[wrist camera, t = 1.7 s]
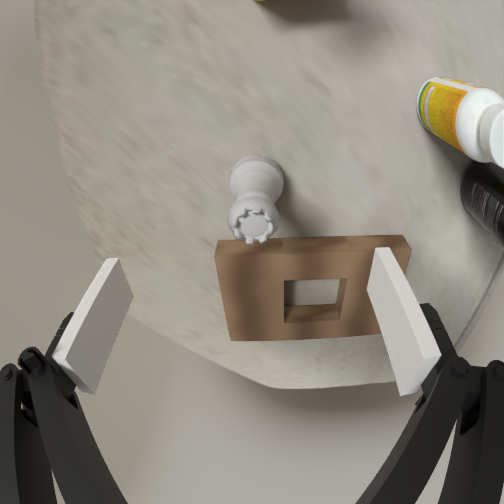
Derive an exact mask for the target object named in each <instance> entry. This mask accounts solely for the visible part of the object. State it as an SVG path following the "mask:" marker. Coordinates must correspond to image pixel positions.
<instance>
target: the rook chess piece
mask: <svg viewBox="0 0 504 504" xmlns="http://www.w3.org/2000/svg"><path fill="white" fill-rule="evenodd" d="M283 183H284V178H283V173H282V170H281V169H280V167H279V166H278V164H277V163H276V162H275V161H273V160H271V159H270V158H268V157H266V156H261V155H252V156H246V157H244V158H243V159H241V160H239V161H238V162H236V164H235V165H234V167H233V168H232V170H231V172H230V179H229V187H230V191H231V194H232V196H233V197H234V199H235V201H234V204H233V206H232V207H231V208H230V210H229V212H228V218H227V221H228V224H229V228H230V230H231V231H232V232H233V233H234V236H235V237H236V238H237V239H238V241H239V240H240V239H243V240H245V241H246V242H245V244H247V245H252V246H253V242H257V241H259V242H260V244H263V243H264V242H266V241H268V238H269V237H271V236H272V235H273V234H274V233H275V231H276V230H277V229H278V225H279V221H280V219H279V214H278V211H277V209H276V208H275V204H274V203H275V202H276V201H277V199H278V198H279V197H280V196H281V194H282V190H283V185H284V184H283Z"/></svg>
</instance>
